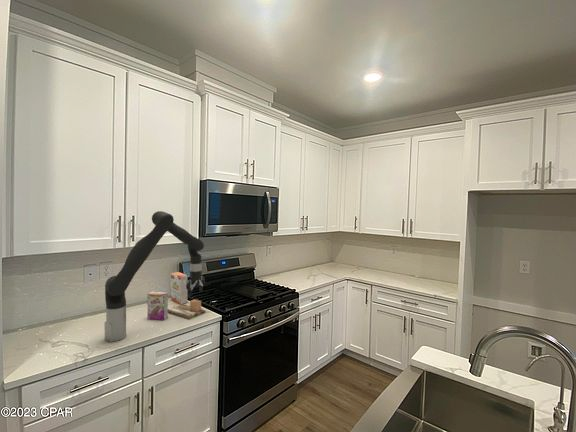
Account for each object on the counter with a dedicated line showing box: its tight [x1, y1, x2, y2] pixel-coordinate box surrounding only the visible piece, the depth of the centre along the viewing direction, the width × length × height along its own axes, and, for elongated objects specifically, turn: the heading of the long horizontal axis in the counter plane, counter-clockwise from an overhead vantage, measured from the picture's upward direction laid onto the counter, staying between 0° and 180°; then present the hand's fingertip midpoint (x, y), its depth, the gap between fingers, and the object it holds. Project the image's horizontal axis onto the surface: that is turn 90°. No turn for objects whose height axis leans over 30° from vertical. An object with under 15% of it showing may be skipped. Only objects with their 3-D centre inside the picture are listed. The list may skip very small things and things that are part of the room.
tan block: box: [189, 298, 202, 312], centre depth 193 cm, size 4×6×6 cm, turn 60°
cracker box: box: [170, 271, 188, 305], centre depth 212 cm, size 14×6×21 cm, turn 49°
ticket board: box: [168, 303, 206, 321], centre depth 192 cm, size 14×22×3 cm, turn 60°
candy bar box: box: [147, 291, 169, 321], centre depth 181 cm, size 11×5×16 cm, turn 84°
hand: (195, 293), depth 192 cm, fingers open, 8 cm apart
